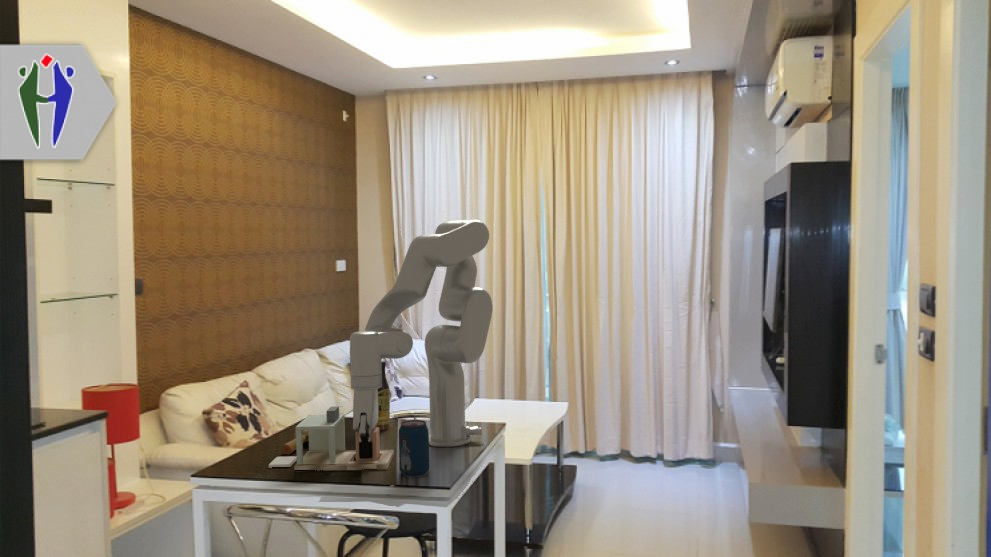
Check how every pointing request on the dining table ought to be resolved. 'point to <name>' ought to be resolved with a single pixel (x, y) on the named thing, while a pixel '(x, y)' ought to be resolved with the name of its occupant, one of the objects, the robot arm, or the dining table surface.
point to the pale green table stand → (322, 433)
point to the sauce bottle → (383, 402)
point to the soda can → (414, 448)
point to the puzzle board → (342, 461)
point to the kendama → (294, 442)
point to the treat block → (375, 442)
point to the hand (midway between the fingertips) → (368, 454)
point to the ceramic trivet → (283, 461)
